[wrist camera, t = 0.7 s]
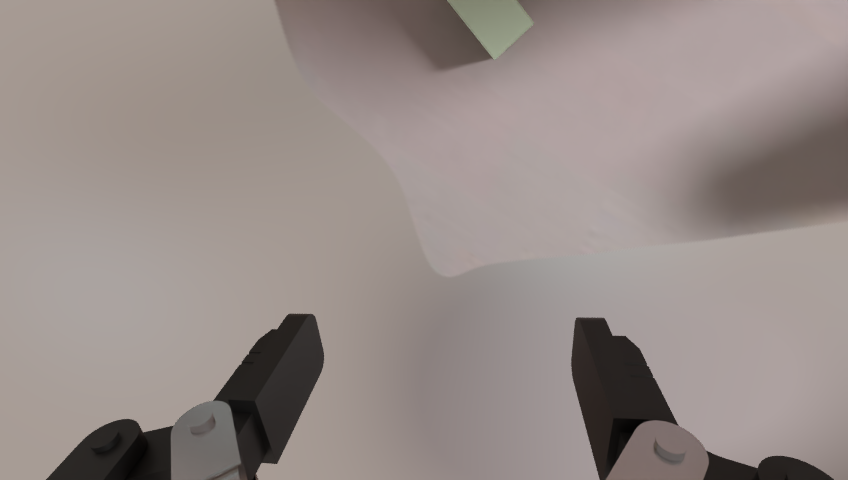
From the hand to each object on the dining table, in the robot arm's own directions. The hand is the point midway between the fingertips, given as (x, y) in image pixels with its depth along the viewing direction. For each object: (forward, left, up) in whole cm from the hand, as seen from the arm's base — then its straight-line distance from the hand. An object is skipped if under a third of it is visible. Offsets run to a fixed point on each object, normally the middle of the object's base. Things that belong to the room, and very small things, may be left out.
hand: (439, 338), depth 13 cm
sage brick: (-8, -7, -22) cm, 24 cm away
